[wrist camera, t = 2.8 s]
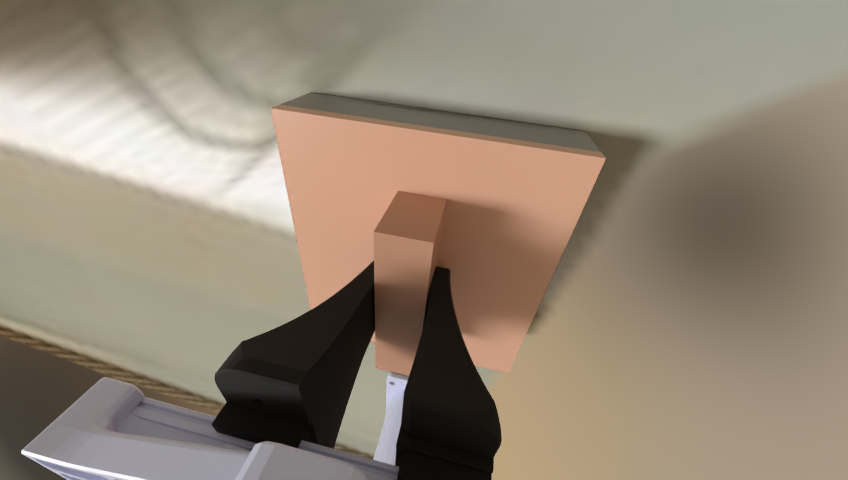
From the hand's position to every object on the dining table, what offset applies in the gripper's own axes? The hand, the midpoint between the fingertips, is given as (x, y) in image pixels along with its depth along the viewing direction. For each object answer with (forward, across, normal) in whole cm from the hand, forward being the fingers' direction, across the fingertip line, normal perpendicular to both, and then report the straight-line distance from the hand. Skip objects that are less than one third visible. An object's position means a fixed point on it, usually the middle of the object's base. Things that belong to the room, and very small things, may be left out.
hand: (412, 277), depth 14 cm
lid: (+1, 0, 0) cm, 1 cm away
